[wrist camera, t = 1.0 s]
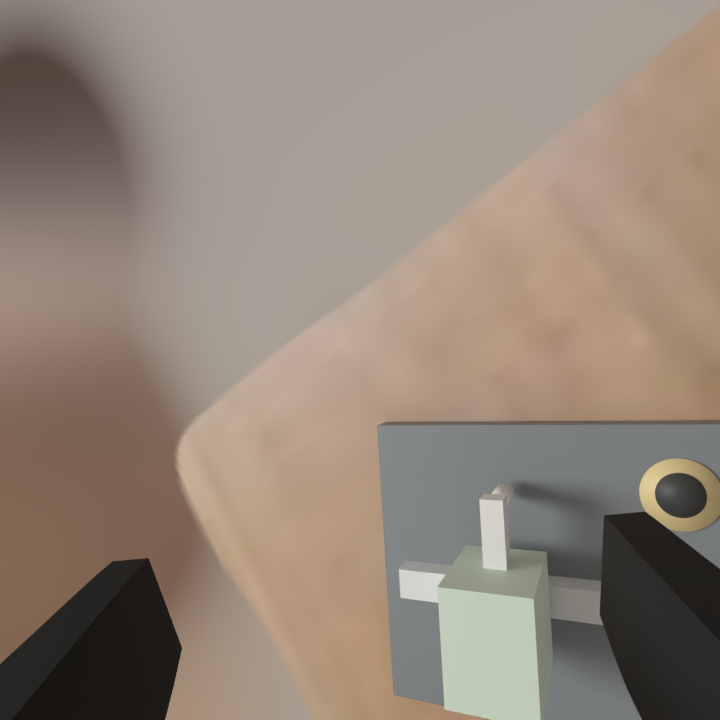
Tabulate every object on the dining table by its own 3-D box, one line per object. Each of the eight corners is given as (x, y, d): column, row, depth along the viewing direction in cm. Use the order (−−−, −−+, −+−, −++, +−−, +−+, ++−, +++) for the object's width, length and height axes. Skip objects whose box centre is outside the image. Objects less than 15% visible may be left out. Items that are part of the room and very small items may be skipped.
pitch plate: (1103, 824, 16) (1377, 1091, 10) (401, 681, 25) (340, 783, 19) (1084, 418, 16) (1350, 462, 10) (385, 422, 25) (319, 446, 19)
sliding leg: (555, 648, 21) (541, 730, 17) (476, 636, 22) (444, 709, 18) (545, 481, 21) (529, 519, 16) (467, 478, 22) (432, 513, 18)
